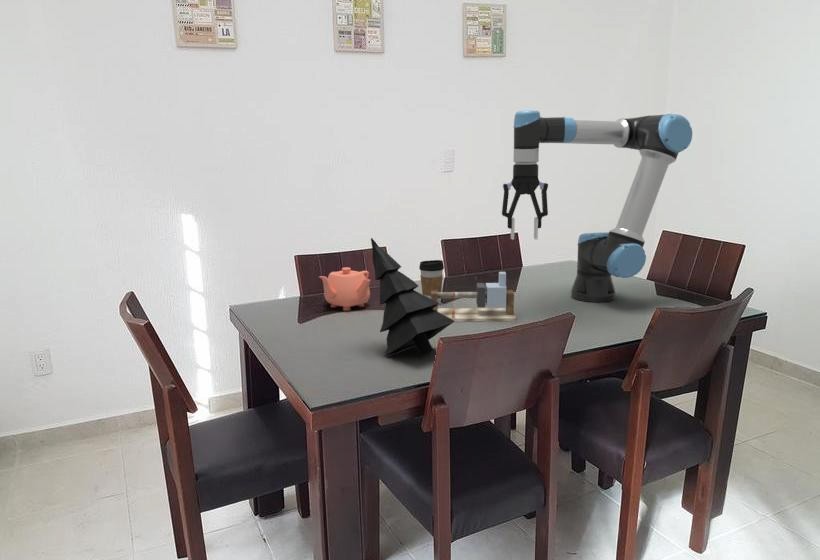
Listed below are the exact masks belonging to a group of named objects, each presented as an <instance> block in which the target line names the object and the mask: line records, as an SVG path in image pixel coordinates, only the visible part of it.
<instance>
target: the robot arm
mask: <svg viewBox="0 0 820 560" xmlns="http://www.w3.org/2000/svg"><path fill="white" fill-rule="evenodd" d="M689 121H690V120H688V119H687V118H686V117H685V116H683V115H681V114H675V113H667V114H658V115H657V114H656V115H653V114H652V115H645V116H638V117H631V118H618V119H617V120H615V121H612V120H585V119H584V120H583V119H581V120H578V119H574V118H573V117H565V116H562V117H561V116H560V117H559V116H557V117H542V116H541V113H540V111H539V110H518V111H516V112H515V114H514V119H513V157H512V158H513V163H515V164H513V166H512V167H513V168H512V180H511V181H510V182H508V183H506V182H505V183H502V188H503V189H502V190H503V197H502V198H503V199H502V207H501V209H502V210H501V215H502V217H505V218H507V228H508V229H510V240H515V222H516V221H515V220H516V219H515V217H513V216H514V214H515V211H516V210H515V209H516V208H517V204H518V202H519V200H520V197H521V196H522V195H528V196H529V195H530V199H531V201H532V206H533V208H534V212H535V214H536V217H535V216H534V221H533V222H534V223H533V239H534V240H538V238H539V237H538V234H539V232H538V231H539V229H541V228H542V221H543V220H542V218H544V217H547V216H548V215H549V211H548V210H549V209H548V195H547V194H548V193H547V191H548V189H549V184H548V183H547V182H542V181H540V179H539V164H538V162H539V161H540V159H539V156H540V154H539V151H540V150H539V149H540V144H576V145H577V144H578V145H581V144H584V145H614V147H615V148H618V149H619V148H620V149H631V150H637V151H638V152H639V155H640V156H641V160H640V162H639V164H638V167H637V170H636V173H635V175H634V178H633V181H632V183H631V186H630V188H629V191H628V193H627V197H626V199H625V202H624V204H623V208H622V210H621V213H620V215H619V218H618V221H617V224H616V226H615V227H614V228H612V229H611V230H609V231H606V232H587V233H581V234H580V235H579V236H578V239H577V240H578V241H577V265H576V276H575V278H574V282H573V285H572V287H571V290H570V297H571V298H573V299H574V300H578V301H582V302H589V303H590V302H591V303H604V302H606V303H607V302H610V301H614V300H615V299H616V289H615V285H614V282H613V278H612V276H613V277H615V278H621V279H628V278H632V277H633V276H636V275H638V274H639V273H640V272H641V271H642V269H643V268H644V266H645V265H646V260H647V255H646V250H645V249H644V246H645V242H646V241H645V239H644V237H643V234H644V232H645V228H646V226H647V223H648V220H649V219H650V217H651V216H650V215H651V213H652V210H653V207H654V205H655V202H656V200H657V198H658V194H659V192H660V190H661V186H662V185H663V184H662V183H663V182H664V181H663V180H664V179H665V175H666V173H667V172H668V168H669V166H670V165H671V164H673V163H675V162H676V161H677V158H678V156H679V153H681V152H683V151H685V150H686V149H687V148H689V146H690V145H691V142H692V139H693V129H692V126H691V123H690V122H689ZM511 187H513V189H514V191H515V193H514V196H513V199H512V202H511V203H510V208H509V209H508V204H509V195H510V194H509V193H510V192H509V191H510V190H511ZM538 187H539V189H540V191H541V208H540V206H539V202H538V199H537V195H536V192H535V191H536V189H537V188H538ZM541 209H542V211H541Z"/></svg>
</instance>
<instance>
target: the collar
mask: <svg viewBox="0 0 820 560" xmlns="http://www.w3.org/2000/svg"><path fill="white" fill-rule="evenodd" d="M476 292H477V298H475V299H476V300H475V301H476V306H477V308H486V302H485V292H486V283H485V282H477V283H476Z"/></svg>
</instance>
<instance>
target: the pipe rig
mask: <svg viewBox="0 0 820 560" xmlns="http://www.w3.org/2000/svg"><path fill="white" fill-rule="evenodd" d="M438 298H441V299H476V298H477V291H459V292H458V291H441V292H437V291H431V299H432V300H434V301H436V302H438ZM485 298H487V292H485ZM438 307H439V305H437V306H435V307H434V308H433V309H434V310H436V311H437V312H439V313H441V314H443V315H445V316H447V317H448V318H450V319H452V320H453V321H455V322H456V323H458V322H460V323H462V322H463V323H465V322H470V323H472V322H473V323H475V322H474V321H484V322H486V321H487V322H486V323H490V322H491V323H493V322H505V323H506V322H517V321H518V320H517V319H518V318H517V315H516V314H515V292H514V290H513V289H511V290H509V289H506V307H477V308H476V307H475V308H473V307H468V308H466V307H465V308H463V307H461V308H458V307H457V308H449V307H448V308H447V307H446V308H445V307H443V308H441V307H440V308H438ZM455 322H454V323H455ZM484 322H483V323H484Z"/></svg>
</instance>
